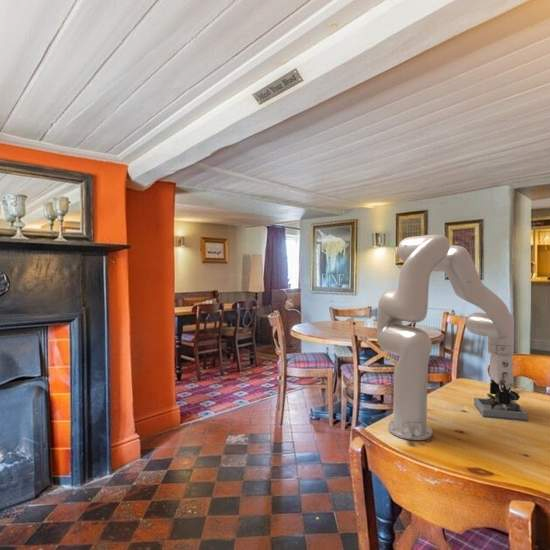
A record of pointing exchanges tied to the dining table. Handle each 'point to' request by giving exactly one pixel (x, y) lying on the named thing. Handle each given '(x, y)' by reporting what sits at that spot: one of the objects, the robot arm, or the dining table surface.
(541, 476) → the dining table surface
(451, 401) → the dining table surface
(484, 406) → the holder
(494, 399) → the eagle figurine
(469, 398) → the dining table surface
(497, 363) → the robot arm
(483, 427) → the dining table surface
